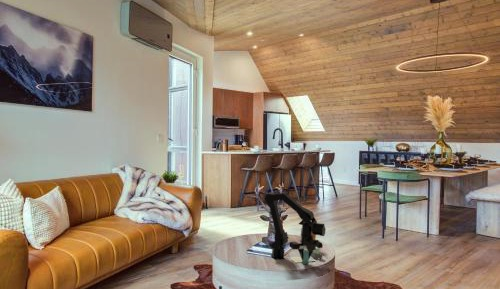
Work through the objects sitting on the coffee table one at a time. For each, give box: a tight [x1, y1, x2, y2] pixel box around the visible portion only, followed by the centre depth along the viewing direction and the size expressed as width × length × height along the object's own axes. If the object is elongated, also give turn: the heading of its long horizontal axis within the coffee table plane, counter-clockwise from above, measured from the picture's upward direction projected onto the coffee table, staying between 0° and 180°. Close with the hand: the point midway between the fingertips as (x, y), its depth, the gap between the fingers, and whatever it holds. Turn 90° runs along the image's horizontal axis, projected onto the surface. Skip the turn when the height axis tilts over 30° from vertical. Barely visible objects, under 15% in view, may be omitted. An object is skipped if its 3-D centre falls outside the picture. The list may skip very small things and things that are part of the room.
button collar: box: [310, 251, 323, 260], centre depth 221 cm, size 5×5×2 cm
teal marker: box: [301, 249, 309, 265], centre depth 209 cm, size 4×4×8 cm
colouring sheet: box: [289, 256, 316, 264], centre depth 216 cm, size 13×8×1 cm, turn 107°
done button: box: [313, 247, 321, 255], centre depth 221 cm, size 4×4×4 cm
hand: (305, 259), depth 209 cm, fingers closed on teal marker, 4 cm apart
